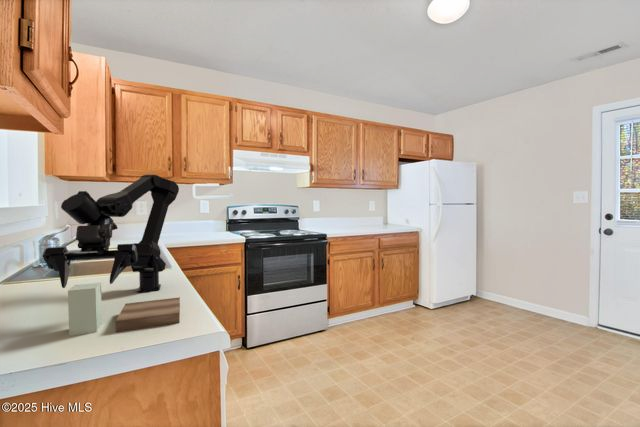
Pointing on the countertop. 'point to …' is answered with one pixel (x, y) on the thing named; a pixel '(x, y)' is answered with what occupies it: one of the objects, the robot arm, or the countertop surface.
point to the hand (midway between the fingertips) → (87, 284)
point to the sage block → (84, 308)
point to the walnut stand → (148, 314)
